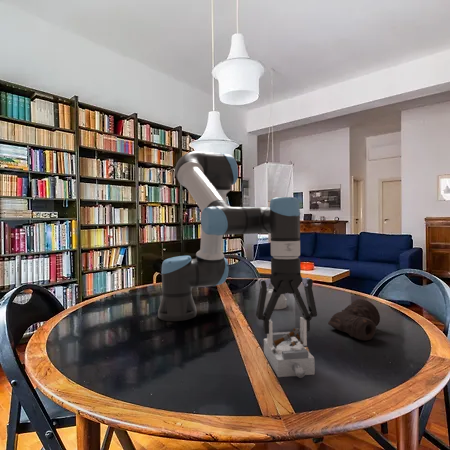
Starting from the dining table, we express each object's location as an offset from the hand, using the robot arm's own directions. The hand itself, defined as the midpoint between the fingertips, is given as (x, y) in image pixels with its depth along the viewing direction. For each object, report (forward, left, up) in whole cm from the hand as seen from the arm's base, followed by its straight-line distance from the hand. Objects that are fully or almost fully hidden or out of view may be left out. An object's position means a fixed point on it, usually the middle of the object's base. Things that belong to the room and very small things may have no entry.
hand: (286, 344), depth 81 cm
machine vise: (+1, -2, -5) cm, 5 cm away
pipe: (+30, +19, -5) cm, 36 cm away
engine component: (+12, +55, -5) cm, 56 cm away
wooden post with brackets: (0, 0, -1) cm, 1 cm away
